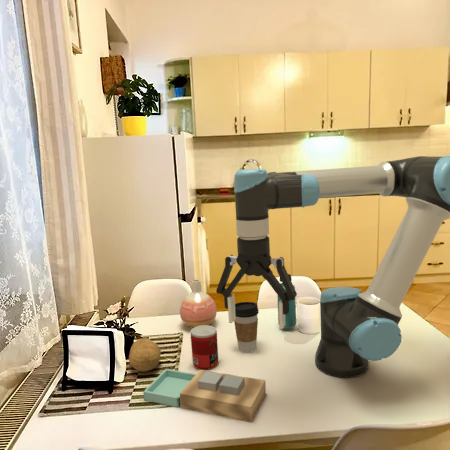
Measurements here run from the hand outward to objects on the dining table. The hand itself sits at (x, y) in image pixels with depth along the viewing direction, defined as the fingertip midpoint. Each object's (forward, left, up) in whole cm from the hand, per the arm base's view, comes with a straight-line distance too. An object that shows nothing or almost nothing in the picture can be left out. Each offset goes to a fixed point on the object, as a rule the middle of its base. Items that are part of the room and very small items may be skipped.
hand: (256, 323), depth 100 cm
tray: (+25, 0, -22) cm, 34 cm away
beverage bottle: (+4, -47, -23) cm, 52 cm away
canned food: (+22, -16, -23) cm, 35 cm away
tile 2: (+7, 0, -18) cm, 20 cm away
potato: (+39, -9, -23) cm, 46 cm away
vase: (+36, -41, -23) cm, 59 cm away
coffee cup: (+13, -29, -23) cm, 39 cm away
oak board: (+10, 0, -22) cm, 24 cm away
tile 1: (+13, 0, -18) cm, 23 cm away
